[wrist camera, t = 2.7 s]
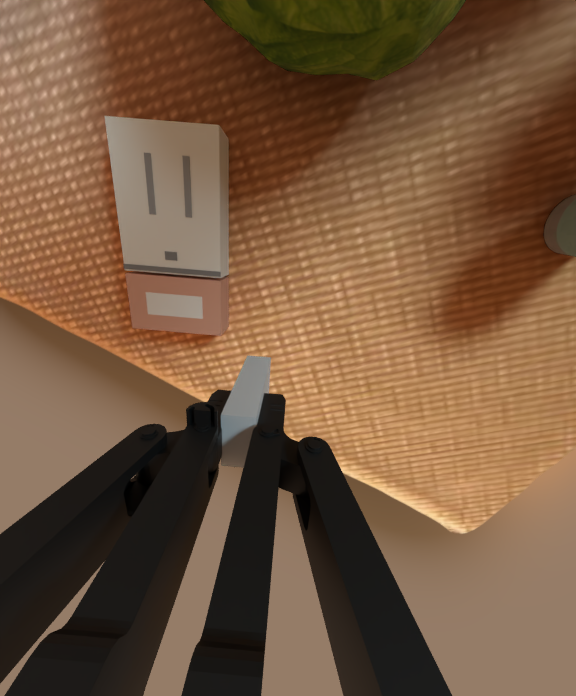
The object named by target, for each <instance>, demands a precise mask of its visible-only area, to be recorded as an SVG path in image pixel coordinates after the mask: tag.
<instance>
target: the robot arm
mask: <svg viewBox="0 0 576 696" xmlns="http://www.w3.org/2000/svg"><path fill="white" fill-rule="evenodd" d="M270 363H271V358H270V357H258V356H247V358H246V360H245V362H244V365H243V367H242V369H241V371H240V373H239V376H238V378H237V380H236V382H235V384H234V387H233V389H232V391H227V390H217V391H216V392H214V393H213V394H212V395H211V397H210V398H209V401H208V402H200V403H195V404H193V405H191V406H189V407H188V408H187V409H186V413H187V427H186V429H185V430H182V431H176V432H168V433H167V431H166V428H165V427H164V426H162V425H160V424H149V425H145V426H142V427H140V428H138V429H137V430H135V431H134V432H132V433H131V434H130V435H129V436H127V437H126V438H125V439H123V440H122V441H121V442H119V443H118V444H117V445H115V446H114V447H113V448H112V449H110V450H109V451H108V452H106V453H105V454H104V455H102V456H101V457H100V458H99V459H97V460H96V461H95V462H93V463H92V464H91V465H89V466H88V467H87V468H86V469H84V470H83V471H82V472H80V473H79V474H78V475H76V476H75V477H74V478H73V479H71V480H70V481H69V482H67V483H66V484H65V485H64V486H62V487H61V488H60V489H59V490H57V491H56V492H54V493H53V494H52V495H51V496H49V497H48V498H47V499H46V500H44V501H43V502H42V503H40V504H39V505H38V506H36V507H35V508H34V509H32V510H31V511H30V512H28V513H27V514H26V515H25V516H23V517H22V518H21V519H19V520H18V521H17V522H16V523H14V524H13V525H12V526H10V527H9V528H8V529H6V530H5V531H4V532H3V533H1V534H0V683H1V682H2V681H3V680H4V679H5V677H6V676H7V675H8V674H9V673H10V671H11V670H12V669H13V668H14V667H15V666H16V664H17V663H18V662H19V661H20V660H21V658H22V657H23V656H24V655H25V654H26V653H27V651H28V650H29V649H30V648H31V647H32V646H33V644H34V643H35V642H36V641H37V640H38V638H39V637H40V636H41V635H42V634H43V633H44V632H45V630H46V629H47V628H48V627H49V625H50V624H51V623H52V622H53V621H54V620H55V619H56V617H57V616H58V615H59V614H60V613H61V612H62V610H63V609H64V608H65V607H66V606H67V604H68V603H69V602H70V601H71V600H72V599H73V597H74V596H75V595H76V594H77V593H78V591H79V590H80V589H81V588H82V587H83V586H84V585H85V583H86V582H87V581H88V580H89V579H90V577H91V576H92V575H93V574H94V573H95V571H96V570H97V569H98V568H99V567H100V566H101V564H102V563H103V562H104V561H105V562H104V564H103V565H102V567H101V569H100V571H99V572H98V573H97V575H96V577H95V578H94V580H93V582H92V583H91V585H90V587H89V588H88V590H87V592H86V593H85V595H84V597H83V598H82V600H81V602H80V603H79V605H78V607H77V608H76V610H75V612H74V613H73V615H72V617H71V618H70V619H69V621H68V622H67V623H66V624H65V626H63V627H62V629H59V630H57V631H54V632H52V633H50V634H49V635H48V636H47V637H46V638H44V639H43V640H42V641H41V642H40V644H39V645H38V647H37V648H36V649H35V650H34V652H33V653H32V655H31V656H30V657H29V659H28V660H27V662H26V663H25V665H24V667H23V668H22V670H21V671H20V673H19V674H18V676H17V677H16V679H15V680H14V682H13V683H12V685H11V687H10V688H9V690H8V691H7V693H6V694H5V696H143V694H144V691H145V687H146V684H147V681H148V678H149V675H150V673H151V669H152V667H153V664H154V660H155V658H156V655H157V652H158V649H159V646H160V643H161V640H162V637H163V634H164V632H165V629H166V626H167V623H168V620H169V617H170V614H171V611H172V608H173V605H174V602H175V600H176V597H177V593H178V590H179V588H180V585H181V582H182V579H183V576H184V573H185V570H186V567H187V564H188V562H189V558H190V556H191V553H192V550H193V547H194V544H195V541H196V538H197V535H198V532H199V529H200V526H201V524H202V521H203V517H204V515H205V512H206V509H207V506H208V503H209V500H210V497H211V494H212V491H213V489H214V485H215V482H216V480H217V477H218V471H219V470H218V469H219V467H218V464H219V462H220V459H221V465H222V466H233V467H244V468H243V472H242V476H241V480H240V484H239V488H238V492H237V496H236V500H235V504H234V509H233V513H232V517H231V521H230V525H229V529H228V533H227V537H226V541H225V545H224V549H223V553H222V557H221V561H220V565H219V569H218V573H217V577H216V581H215V585H214V589H213V593H212V597H211V601H210V605H209V609H208V614H207V618H206V622H205V626H204V629H203V633H202V637H201V639H200V641H199V643H198V644H197V645H196V647H195V650H194V652H193V656H192V658H191V662H190V665H189V669H188V673H187V677H186V681H185V684H184V688H183V692H182V696H261V689H262V678H263V666H264V654H265V642H266V630H267V618H268V605H269V593H270V582H271V570H272V558H273V546H274V535H275V522H276V510H277V499H278V487H279V488H281V489H284V490H286V491H289V492H291V493H293V499H294V503H295V507H296V511H297V514H298V518H299V523H300V526H301V530H302V534H303V538H304V542H305V546H306V550H307V554H308V558H309V562H310V565H311V569H312V574H313V577H314V582H315V585H316V589H317V593H318V597H319V601H320V605H321V609H322V613H323V617H324V621H325V625H326V629H327V633H328V637H329V640H330V644H331V648H332V652H333V656H334V660H335V664H336V668H337V672H338V676H339V680H340V684H341V688H342V691H343V695H344V696H452V694H451V693H450V690H449V689H448V686H447V684H446V682H445V680H444V678H443V676H442V674H441V672H440V670H439V668H438V666H437V664H436V662H435V660H434V658H433V656H432V654H431V652H430V650H429V648H428V646H427V644H426V642H425V640H424V638H423V635H422V633H421V631H420V629H419V627H418V625H417V623H416V621H415V619H414V617H413V615H412V613H411V611H410V609H409V607H408V605H407V603H406V601H405V599H404V597H403V595H402V593H401V591H400V589H399V587H398V585H397V583H396V581H395V578H394V576H393V574H392V573H391V570H390V568H389V566H388V564H387V562H386V560H385V558H384V556H383V554H382V552H381V550H380V548H379V546H378V544H377V542H376V540H375V538H374V536H373V534H372V532H371V530H370V528H369V526H368V524H367V522H366V520H365V518H364V515H363V513H362V511H361V509H360V507H359V505H358V503H357V501H356V499H355V497H354V495H353V493H352V491H351V489H350V487H349V485H348V483H347V481H346V479H345V477H344V475H343V473H342V471H341V469H340V467H339V465H338V463H337V461H336V458H335V456H334V454H333V452H332V450H331V448H330V446H329V445H328V444H327V442H326V441H324V440H322V439H320V438H317V437H306V438H303V439H302V440H300V442H298V441H295V440H292V439H290V438H289V437H288V436H287V435H286V434H285V433H284V429H283V427H284V414H285V402H286V400H285V398H284V397H283V395H281V394H269V379H270ZM135 475H136V476H135ZM133 476H135V477H134V478H132V477H133ZM131 478H132V479H131ZM130 479H131V480H130Z"/></svg>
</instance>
